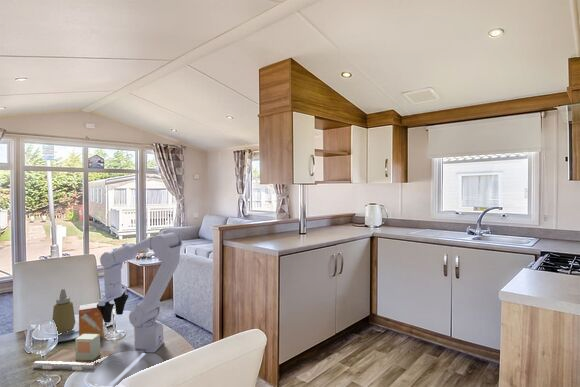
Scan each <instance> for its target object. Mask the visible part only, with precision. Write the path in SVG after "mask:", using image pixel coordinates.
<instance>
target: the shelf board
mask: <svg viewBox="0 0 580 387" xmlns="http://www.w3.org/2000/svg"><path fill="white" fill-rule="evenodd" d="M114 353H116V350H101V349H100V355H99V356H97V357H96V358H95V359H93V360H76V349H66V348H65V349H61V350H60V351H58V352H56V353H55V354H53V355H51V356H50V357H48V358H47V359H45V360H36V361H34V362H33V369H42V370H53V369H54V370H57V369H58V370H72V371H82V370H84V371H93V370H94V369H96V368H97V367H98V366H99V365H101V364H102V363H103V362H102V361H101V362H100V363H99V362H97V363H96V362H95V363H91V362H94V361H96V360H98V359H101V358H103V357H106V356H109V357H110V356H112V355H113V354H114Z"/></svg>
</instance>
